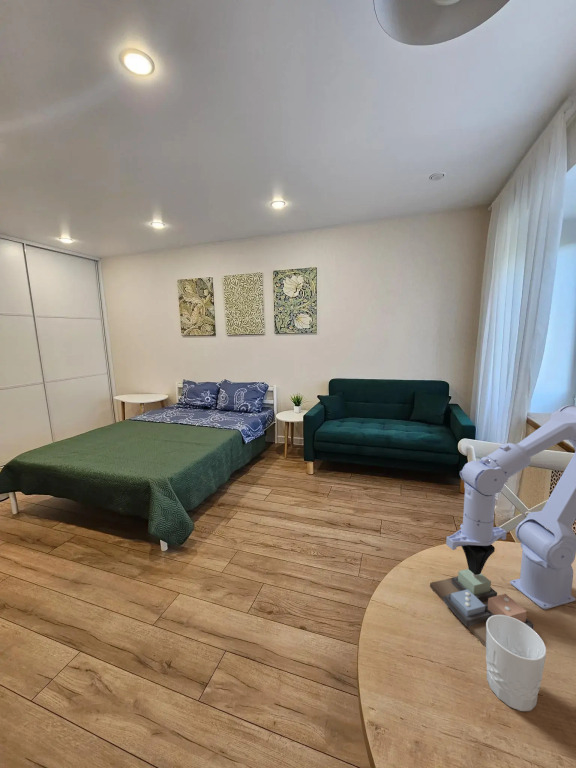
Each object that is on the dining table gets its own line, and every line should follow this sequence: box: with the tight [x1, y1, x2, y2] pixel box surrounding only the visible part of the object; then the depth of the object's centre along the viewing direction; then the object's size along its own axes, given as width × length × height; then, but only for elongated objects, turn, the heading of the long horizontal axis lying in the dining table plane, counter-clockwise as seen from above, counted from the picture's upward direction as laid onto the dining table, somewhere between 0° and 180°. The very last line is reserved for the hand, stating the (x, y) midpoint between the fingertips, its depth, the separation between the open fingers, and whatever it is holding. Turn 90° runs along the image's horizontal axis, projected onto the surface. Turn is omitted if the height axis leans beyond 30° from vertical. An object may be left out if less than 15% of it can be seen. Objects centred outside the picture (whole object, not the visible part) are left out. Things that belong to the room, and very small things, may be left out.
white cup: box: [485, 615, 547, 712], centre depth 50 cm, size 8×8×10 cm
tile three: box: [450, 589, 485, 617], centre depth 65 cm, size 4×4×3 cm
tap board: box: [429, 576, 535, 648], centre depth 66 cm, size 12×17×2 cm
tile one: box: [457, 568, 492, 596], centre depth 70 cm, size 4×4×3 cm
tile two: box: [488, 593, 527, 623], centre depth 62 cm, size 4×4×3 cm
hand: (474, 571), depth 70 cm, fingers closed
